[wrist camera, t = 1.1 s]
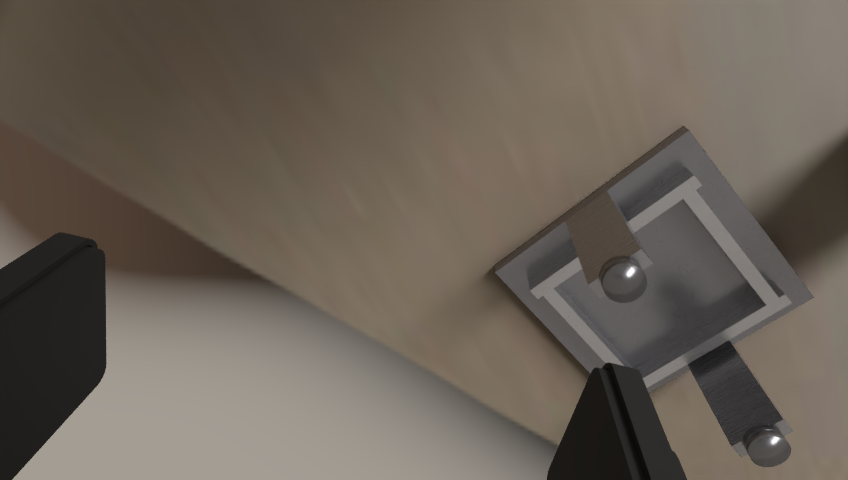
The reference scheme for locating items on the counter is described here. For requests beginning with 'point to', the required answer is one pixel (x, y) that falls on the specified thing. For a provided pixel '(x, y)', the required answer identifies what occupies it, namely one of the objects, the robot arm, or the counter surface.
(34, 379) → the robot arm
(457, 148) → the counter surface
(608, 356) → the stand
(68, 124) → the counter surface
